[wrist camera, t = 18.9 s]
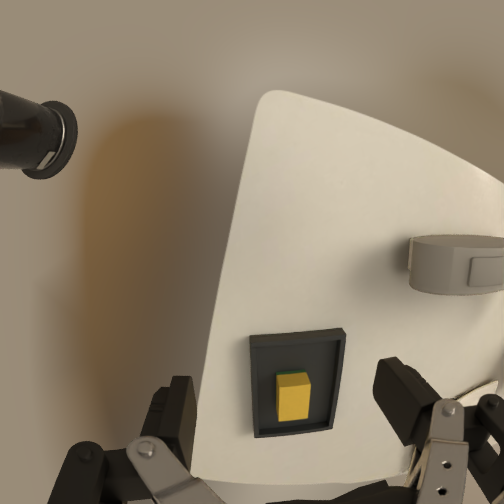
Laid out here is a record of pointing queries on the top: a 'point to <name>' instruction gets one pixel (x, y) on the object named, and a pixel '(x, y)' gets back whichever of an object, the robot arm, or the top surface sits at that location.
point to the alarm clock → (456, 264)
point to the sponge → (292, 395)
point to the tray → (290, 359)
